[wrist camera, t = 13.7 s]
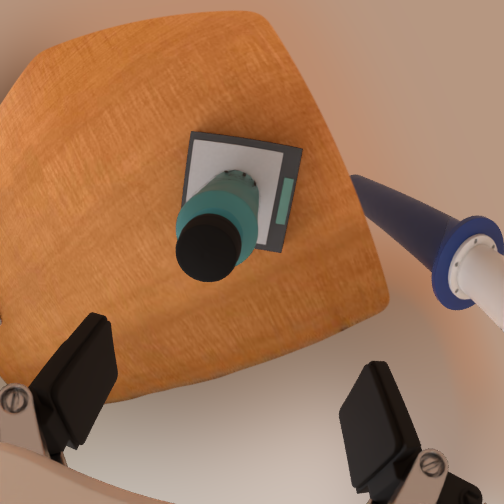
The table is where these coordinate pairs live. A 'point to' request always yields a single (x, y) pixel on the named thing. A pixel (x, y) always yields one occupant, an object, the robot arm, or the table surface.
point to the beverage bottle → (218, 226)
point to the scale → (257, 166)
